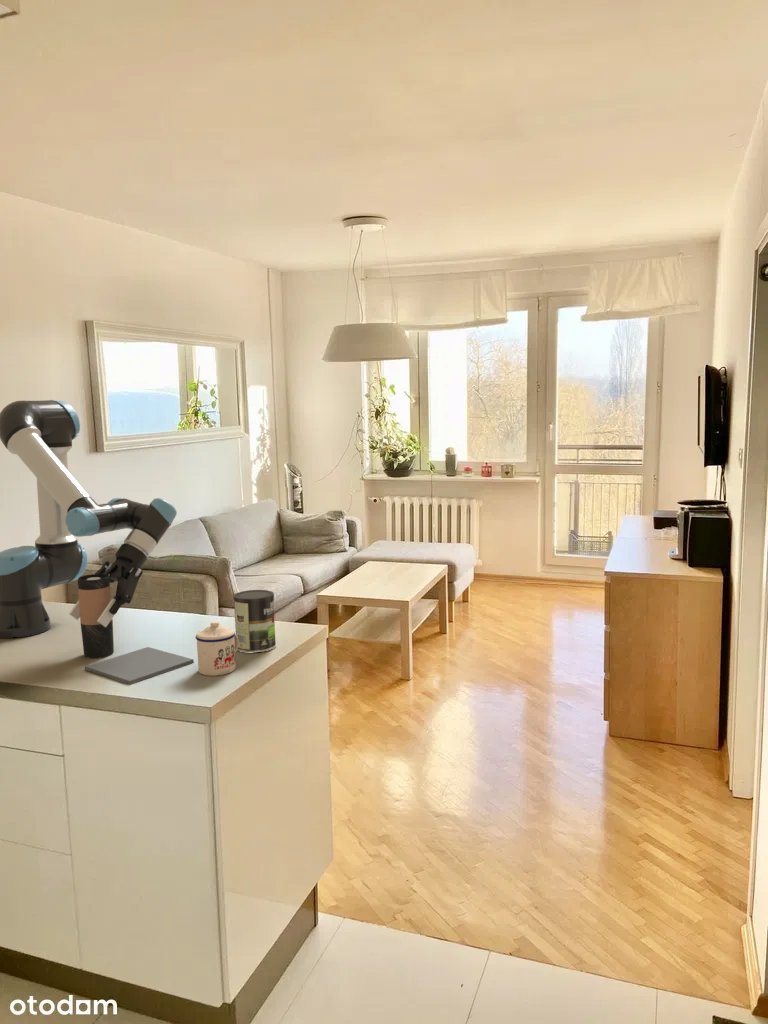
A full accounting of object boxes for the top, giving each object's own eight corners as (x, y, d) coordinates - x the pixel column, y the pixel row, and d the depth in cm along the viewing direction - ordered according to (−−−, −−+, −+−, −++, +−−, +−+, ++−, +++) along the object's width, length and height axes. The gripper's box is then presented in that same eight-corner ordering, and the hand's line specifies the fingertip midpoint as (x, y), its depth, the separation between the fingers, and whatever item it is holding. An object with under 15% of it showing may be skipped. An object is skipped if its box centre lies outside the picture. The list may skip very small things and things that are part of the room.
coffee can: (281, 642, 204) (279, 589, 202) (268, 654, 194) (265, 599, 192) (244, 640, 206) (242, 588, 204) (229, 652, 196) (226, 598, 194)
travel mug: (121, 651, 200) (116, 575, 197) (99, 660, 193) (93, 581, 190) (99, 647, 203) (93, 572, 200) (76, 656, 196) (70, 579, 193)
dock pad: (84, 669, 186) (84, 666, 186) (148, 650, 200) (147, 647, 200) (130, 684, 175) (129, 680, 175) (193, 662, 189) (193, 659, 189)
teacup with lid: (218, 679, 177) (215, 629, 176) (189, 672, 182) (186, 624, 180) (252, 663, 187) (250, 616, 186) (224, 658, 192) (222, 612, 191)
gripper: (173, 563, 200) (125, 635, 190) (117, 554, 214) (71, 621, 204) (154, 546, 195) (104, 619, 185) (99, 538, 209) (50, 605, 199)
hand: (87, 620), depth 194 cm, fingers open, 12 cm apart
